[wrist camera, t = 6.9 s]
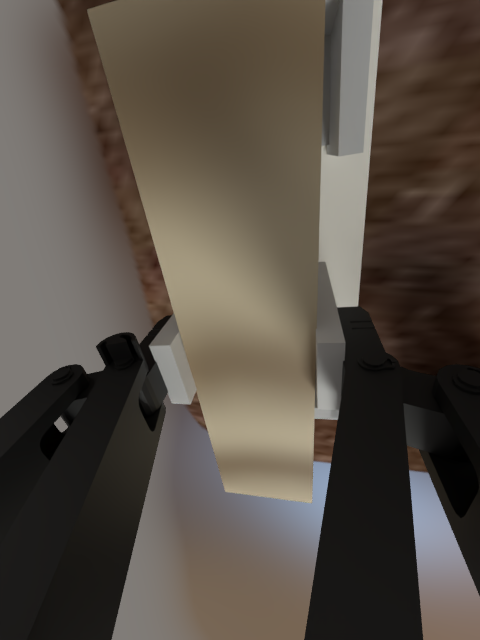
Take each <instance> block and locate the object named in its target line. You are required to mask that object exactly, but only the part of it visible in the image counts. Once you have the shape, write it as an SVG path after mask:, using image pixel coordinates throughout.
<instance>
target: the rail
mask: <svg viewBox="0 0 480 640" xmlns="http://www.w3.org/2000/svg"><path fill="white" fill-rule="evenodd" d="M87 12H88V16H89V19H90V23H91V26H92V29H93V33H94V36H95V40H96V43H97V47H98V50H99V54H100V57H101V61H102V64H103V68H104V71H105V75H106V78H107V82H108V85H109V89H110V92H111V96H112V99H113V102H114V106H115V109H116V113H117V116H118V120H119V123H120V127H121V130H122V134H123V137H124V141H125V144H126V148H127V151H128V155H129V158H130V162H131V165H132V169H133V172H134V176H135V179H136V182H137V186H138V189H139V193H140V196H141V200H142V203H143V207H144V210H145V214H146V217H147V221H148V224H149V228H150V231H151V235H152V238H153V242H154V245H155V249H156V252H157V255H158V259H159V262H160V266H161V269H162V273H163V276H164V280H165V283H166V287H167V290H168V294H169V297H170V301H171V304H172V308H173V311H174V315H175V318H176V322H177V325H178V329H179V332H180V335H181V339H182V342H183V346H184V349H185V353H186V356H187V360H188V363H189V367H190V370H191V373H192V376H193V379H194V382H195V386H196V389H197V390H196V391H197V395H198V398H199V402H200V405H201V408H202V412H203V415H204V419H205V422H206V426H207V429H208V433H209V436H210V439H211V443H212V447H213V450H214V454H215V457H216V460H217V464H218V468H219V471H220V474H221V478H222V481H223V485H224V488H225V491H226V492H231V493H239V494H246V495H254V496H261V497H269V498H277V499H284V500H291V501H299V502H306V503H312V484H313V447H314V410H315V372H316V329H317V298H318V260H319V223H320V185H321V148H322V111H323V73H324V36H325V0H117V1H113V2H110V3H107V4H104V5H100V6H97V7H94V8H91V9H87Z"/></svg>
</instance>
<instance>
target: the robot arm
mask: <svg viewBox="0 0 480 640" xmlns="http://www.w3.org/2000/svg"><path fill="white" fill-rule="evenodd" d="M96 348H97V350H98V351H99V353H100V355H101V357H102V359H103V361H104V363H105V365H106V367H105V368H104V370H103V371H99V372H95V373H91V374H86V372H85V370H84V368H83V367H82V366H81V365H77V364H75V365H68V366H65V367H62V368H59V369H58V370H56V371H54V372H53V373H52V374H50V375H49V376H47V377H46V378H45V379H44V380H43V381H42V382H41V383H39V384H38V385H37V386H36V387H35V388H34V389H33V390H32V391H31V392H29V393H28V394H27V395H26V396H25V397H24V398H23V399H22V400H21V401H19V402H18V403H17V404H16V405H15V406H14V407H13V408H11V409H10V410H9V411H8V412H7V413H6V414H5V415H4V416H2V417H1V418H0V640H111V639H112V635H113V631H114V627H115V622H116V618H117V614H118V609H119V605H120V601H121V597H122V593H123V589H124V585H125V580H126V576H127V572H128V568H129V564H130V559H131V555H132V551H133V547H134V543H135V538H136V534H137V530H138V526H139V522H140V518H141V513H142V509H143V505H144V501H145V497H146V493H147V488H148V484H149V480H150V476H151V472H152V467H153V463H154V459H155V455H156V451H157V447H158V442H159V438H160V434H161V430H162V425H163V421H164V417H165V413H166V407H165V405H164V403H163V400H164V398H165V397H166V395H167V393H168V395H169V397H170V400H171V402H172V404H191V402H192V400H193V397H194V395H195V392H196V390H197V389H196V386H195V382H194V379H193V376H192V373H191V370H190V367H189V363H188V360H187V356H186V353H185V349H184V346H183V342H182V339H181V335H180V332H179V329H178V325H177V322H176V318H175V315H174V314H173V315H170V316H166V317H164V318H163V319H161V320H160V321H158V322H157V324H156V325H155V326H154V327H153V330H151V331H150V332H149V334H148V336H146V337H145V338H144V340H143V341H142V342H141V343H140V344H139V343H138V341H137V339H136V336H135V335H134V334H133V333H129V332H128V333H127V332H126V333H119V334H115V335H112V336H110V337H108V338H106V339H105V340H103V341H101V342H100V343H99V344H98V345H97V346H96ZM315 382H316V395H317V408H318V409H322V410H339V416H338V422H337V429H336V435H335V442H334V448H333V455H332V462H331V468H330V475H329V482H328V488H327V494H326V501H325V507H324V514H323V521H322V527H321V534H320V541H319V547H318V553H317V560H316V567H315V574H314V580H313V586H312V593H311V599H310V606H309V614H308V619H307V626H306V632H305V639H304V640H423V634H422V622H421V609H420V597H419V586H418V573H417V562H416V549H415V538H414V525H413V514H412V501H411V489H410V477H409V465H408V453H407V445H408V446H411V447H414V448H417V449H419V451H420V453H421V456H422V458H423V461H424V463H425V465H426V468H427V470H428V473H429V475H430V477H431V480H432V482H433V485H434V487H435V489H436V492H437V494H438V497H439V499H440V501H441V504H442V506H443V509H444V511H445V514H446V515H447V518H448V521H449V523H450V525H451V528H452V530H453V533H454V535H455V538H456V540H457V542H458V545H459V547H460V550H461V552H462V555H463V557H464V559H465V562H466V564H467V567H468V569H469V571H470V574H471V576H472V579H473V581H474V583H475V586H476V588H477V591H478V593H479V595H480V369H479V368H476V367H472V366H468V365H458V364H455V365H448V366H445V367H443V368H441V369H439V371H438V373H437V376H434V375H429V374H424V373H419V372H415V371H411V370H408V369H405V368H403V367H400V365H399V363H398V361H397V360H396V359H395V358H394V357H393V356H392V355H390V354H388V353H386V352H385V350H384V348H383V345H382V343H381V341H380V338H379V336H378V334H377V332H376V329H375V327H374V325H373V322H372V320H371V318H370V315H369V313H368V312H367V311H365V310H364V309H362V308H361V307H360V306H357V307H337V306H336V302H335V298H334V294H333V290H332V286H331V282H330V278H329V274H328V270H327V266H326V262H318V298H317V329H316V372H315ZM60 416H61V417H62V419H63V420H64V421H65V423H66V424H67V426H68V428H67V429H66V430H65V431H64V432H62V433H61V432H60V431H59V430H58V429H57V428H56V426H55V425H54V422H55V421H56V420H57V419H58V418H59V417H60Z"/></svg>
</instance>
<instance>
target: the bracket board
mask: <svg viewBox="0 0 480 640" xmlns="http://www.w3.org/2000/svg"><path fill="white" fill-rule="evenodd" d="M381 12H382V0H325V36H324V73H323V111H322V148H321V185H320V223H319V260H318V262H326V266H327V270H328V274H329V278H330V282H331V286H332V290H333V294H334V298H335V302H336V306H337V307H357V306H358V299H359V287H360V274H361V262H362V249H363V237H364V224H365V212H366V199H367V187H368V174H369V162H370V149H371V137H372V124H373V112H374V99H375V87H376V74H377V62H378V49H379V37H380V24H381ZM338 416H339V410H322V409H318V408H317V395H316V382H315V410H314V419H333V420H338Z"/></svg>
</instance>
